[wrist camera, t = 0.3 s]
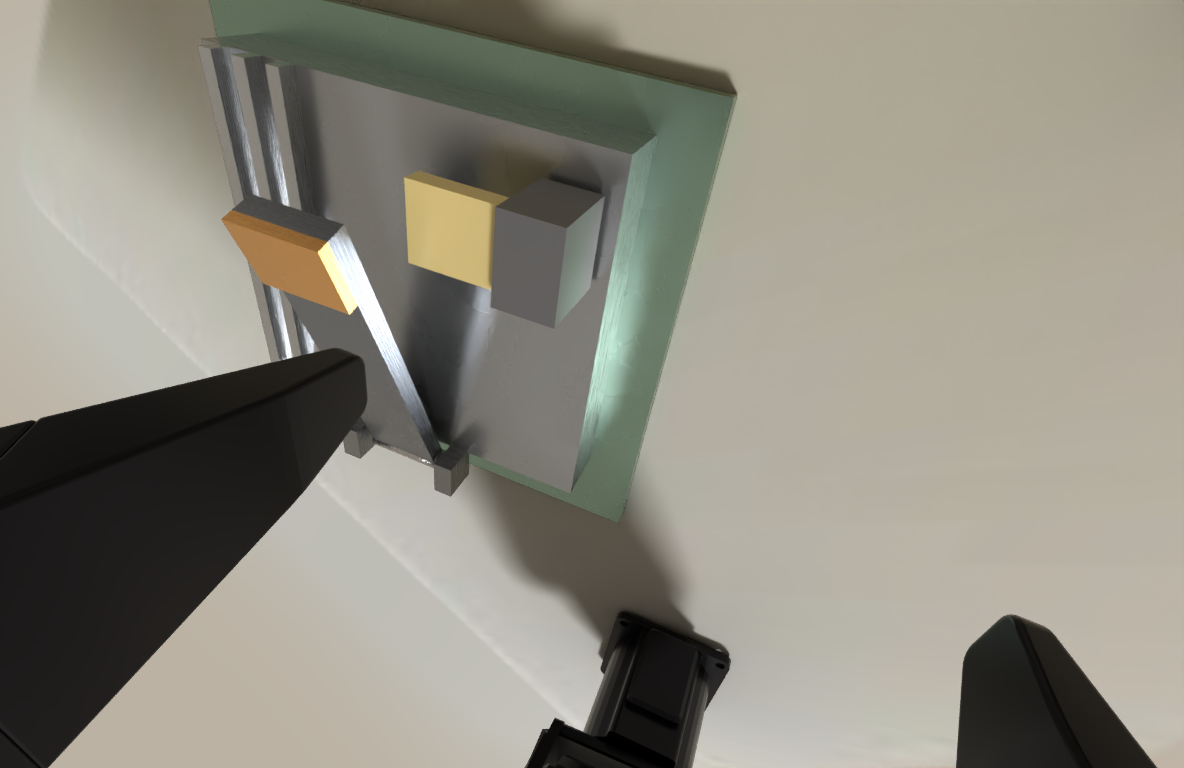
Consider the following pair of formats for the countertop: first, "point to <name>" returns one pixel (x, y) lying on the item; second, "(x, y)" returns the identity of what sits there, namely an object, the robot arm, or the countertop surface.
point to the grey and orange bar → (336, 312)
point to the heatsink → (492, 163)
